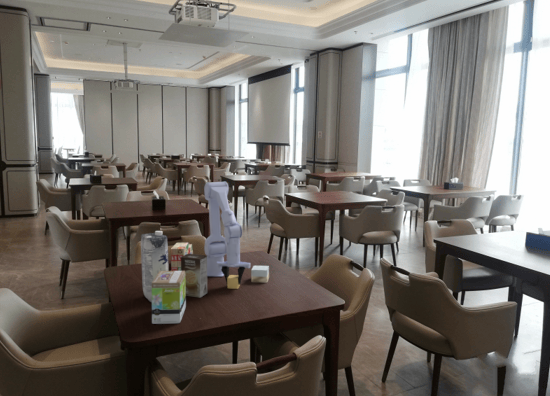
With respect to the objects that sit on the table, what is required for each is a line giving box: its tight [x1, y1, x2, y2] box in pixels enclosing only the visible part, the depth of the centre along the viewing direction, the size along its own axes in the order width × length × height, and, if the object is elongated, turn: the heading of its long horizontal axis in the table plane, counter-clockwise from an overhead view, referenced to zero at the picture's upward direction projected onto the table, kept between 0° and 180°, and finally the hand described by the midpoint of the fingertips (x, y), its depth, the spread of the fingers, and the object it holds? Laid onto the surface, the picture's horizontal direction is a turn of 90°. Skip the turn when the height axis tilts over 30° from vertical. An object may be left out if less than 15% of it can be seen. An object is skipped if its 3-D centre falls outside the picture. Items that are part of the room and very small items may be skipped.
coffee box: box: [181, 253, 208, 298], centre depth 178 cm, size 9×6×16 cm
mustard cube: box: [226, 274, 241, 290], centre depth 188 cm, size 4×4×4 cm
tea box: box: [151, 270, 187, 325], centre depth 155 cm, size 15×10×15 cm
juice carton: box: [140, 230, 170, 303], centre depth 173 cm, size 9×10×27 cm
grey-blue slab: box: [250, 265, 270, 277], centre depth 197 cm, size 7×7×3 cm
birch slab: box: [251, 272, 270, 283], centre depth 197 cm, size 7×7×3 cm
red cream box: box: [170, 242, 194, 271], centre depth 218 cm, size 21×6×12 cm, turn 179°
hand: (233, 283), depth 188 cm, fingers closed on mustard cube, 4 cm apart
